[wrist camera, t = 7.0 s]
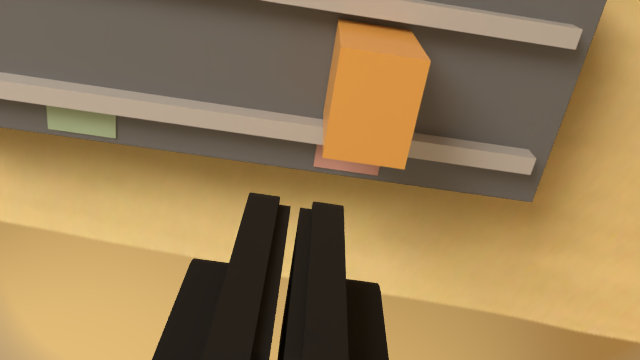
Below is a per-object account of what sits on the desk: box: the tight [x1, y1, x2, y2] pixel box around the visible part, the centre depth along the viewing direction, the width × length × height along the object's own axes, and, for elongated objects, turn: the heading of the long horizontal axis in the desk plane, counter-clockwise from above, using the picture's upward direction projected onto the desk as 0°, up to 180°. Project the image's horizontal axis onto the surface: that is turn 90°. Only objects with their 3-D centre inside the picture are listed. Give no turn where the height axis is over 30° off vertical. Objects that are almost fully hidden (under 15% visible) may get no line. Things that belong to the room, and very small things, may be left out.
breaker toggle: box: [322, 19, 431, 169], centre depth 21 cm, size 3×4×5 cm
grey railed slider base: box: [0, 0, 607, 202], centre depth 24 cm, size 30×10×5 cm, turn 81°
